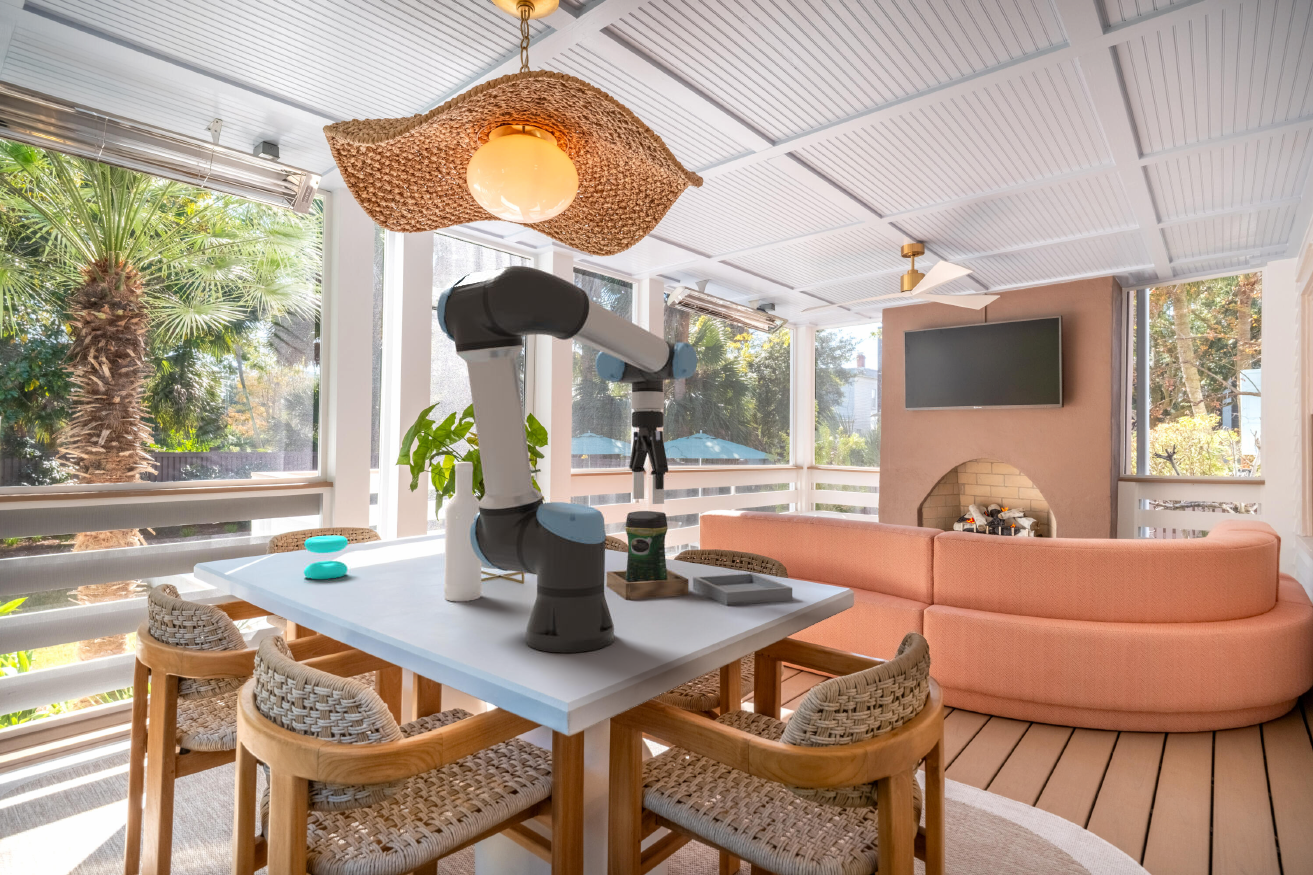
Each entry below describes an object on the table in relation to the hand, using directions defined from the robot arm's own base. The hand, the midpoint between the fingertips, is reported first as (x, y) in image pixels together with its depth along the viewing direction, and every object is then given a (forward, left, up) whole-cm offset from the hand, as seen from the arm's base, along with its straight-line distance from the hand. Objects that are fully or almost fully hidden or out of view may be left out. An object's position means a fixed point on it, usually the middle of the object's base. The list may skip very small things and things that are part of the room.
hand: (647, 501), depth 158 cm
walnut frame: (0, 0, -21) cm, 21 cm away
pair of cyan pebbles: (-72, +42, -21) cm, 86 cm away
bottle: (-41, +6, -21) cm, 47 cm away
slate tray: (+19, -11, -21) cm, 30 cm away
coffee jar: (0, 0, -21) cm, 21 cm away
